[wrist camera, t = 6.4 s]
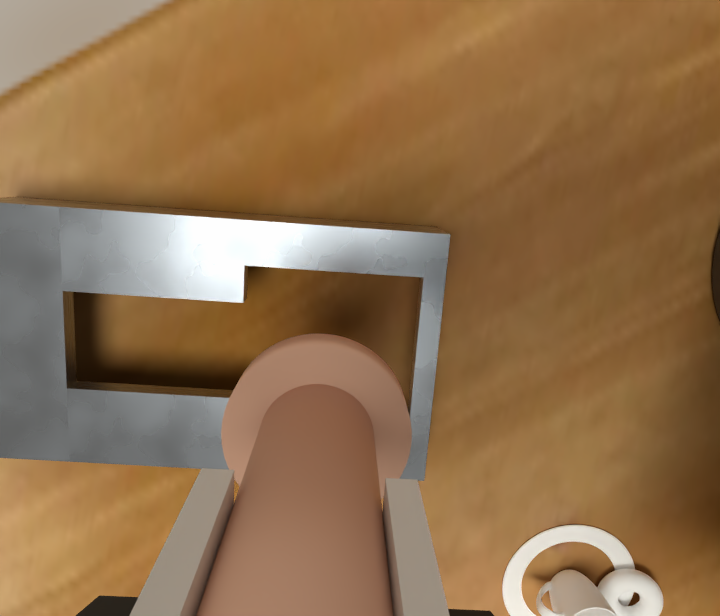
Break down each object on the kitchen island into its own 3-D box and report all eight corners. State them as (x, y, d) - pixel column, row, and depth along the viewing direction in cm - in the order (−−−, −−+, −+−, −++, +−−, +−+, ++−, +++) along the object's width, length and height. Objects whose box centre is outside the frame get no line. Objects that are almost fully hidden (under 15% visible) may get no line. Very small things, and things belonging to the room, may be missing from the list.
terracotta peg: (414, 339, 19) (645, 882, 4) (398, 501, 20) (535, 1332, 6) (232, 327, 19) (-164, 861, 4) (228, 493, 20) (-82, 1337, 6)
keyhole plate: (436, 226, 29) (450, 234, 25) (414, 443, 32) (424, 480, 28) (16, 196, 28) (-37, 200, 25) (29, 421, 31) (-16, 456, 27)
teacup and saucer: (668, 572, 35) (710, 623, 31) (581, 662, 36) (611, 722, 32) (559, 495, 33) (588, 539, 29) (473, 592, 35) (489, 646, 31)
